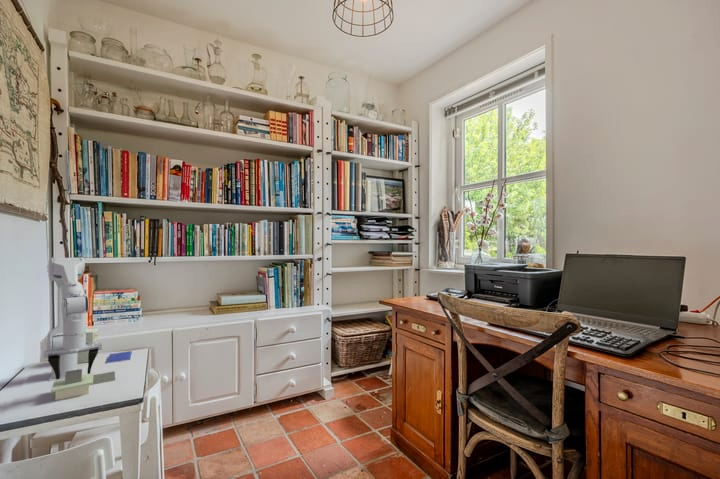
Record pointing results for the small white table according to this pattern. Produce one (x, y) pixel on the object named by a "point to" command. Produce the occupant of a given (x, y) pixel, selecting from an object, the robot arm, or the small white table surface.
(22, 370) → the small white table surface
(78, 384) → the lid
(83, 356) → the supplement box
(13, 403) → the small white table surface
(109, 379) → the mat
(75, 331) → the robot arm
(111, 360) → the hard drive
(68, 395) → the dish
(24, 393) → the small white table surface
